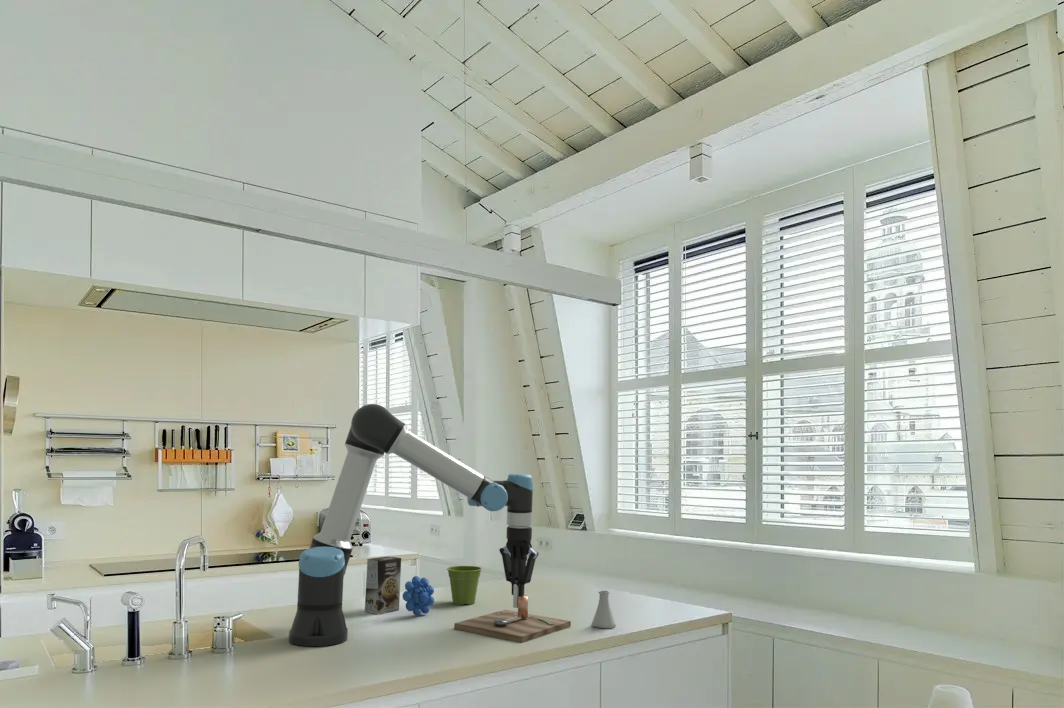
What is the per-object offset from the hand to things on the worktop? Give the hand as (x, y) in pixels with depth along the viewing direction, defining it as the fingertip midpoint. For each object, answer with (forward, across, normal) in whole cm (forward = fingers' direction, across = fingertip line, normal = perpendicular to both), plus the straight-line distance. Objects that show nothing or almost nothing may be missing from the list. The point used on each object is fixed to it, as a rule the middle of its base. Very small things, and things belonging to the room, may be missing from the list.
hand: (517, 606), depth 241 cm
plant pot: (+6, +30, -12) cm, 33 cm away
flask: (+5, -22, -13) cm, 26 cm away
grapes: (+5, +28, +12) cm, 31 cm away
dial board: (+5, -2, +6) cm, 8 cm away
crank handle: (+3, -2, +6) cm, 7 cm away
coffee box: (+5, +42, +14) cm, 44 cm away
